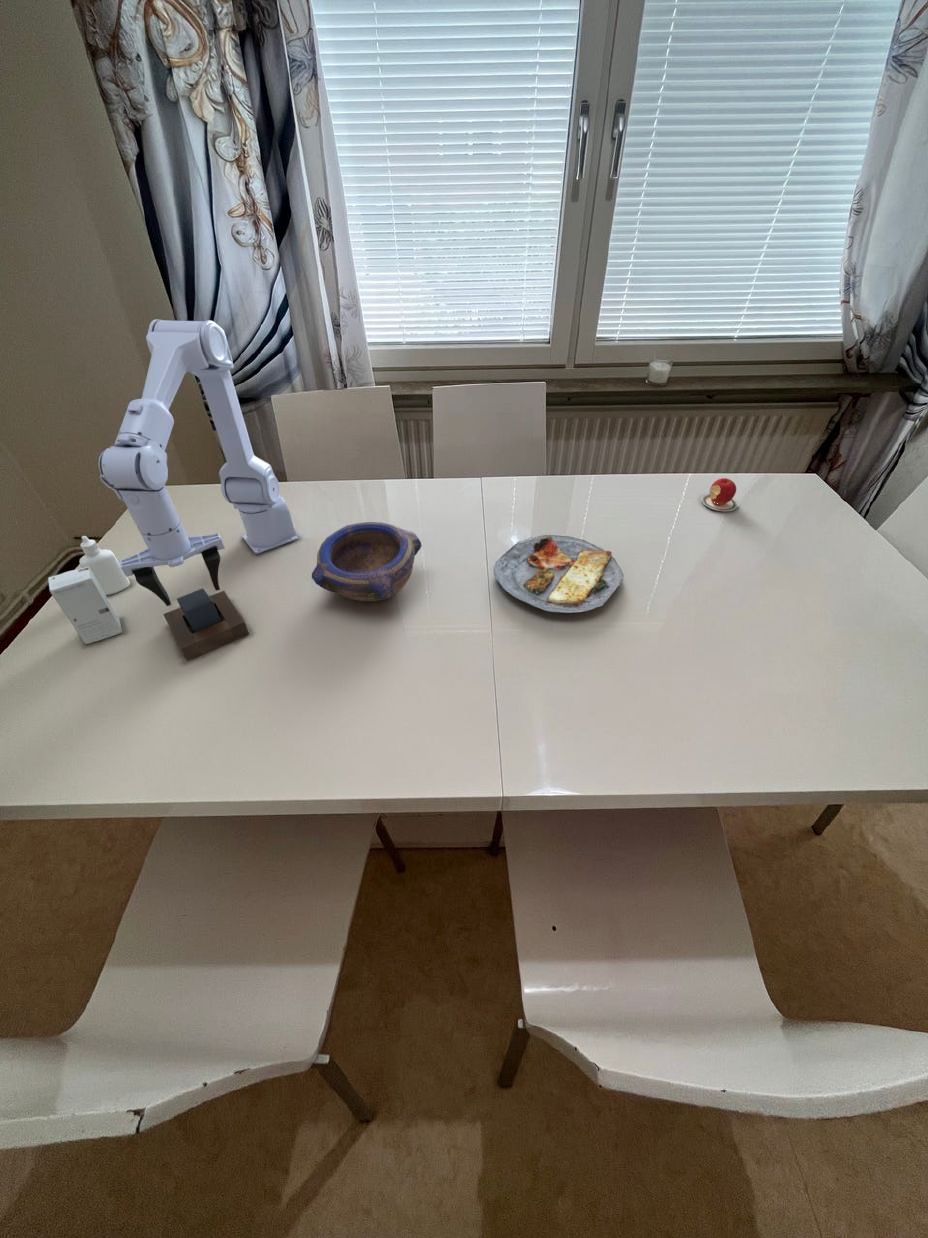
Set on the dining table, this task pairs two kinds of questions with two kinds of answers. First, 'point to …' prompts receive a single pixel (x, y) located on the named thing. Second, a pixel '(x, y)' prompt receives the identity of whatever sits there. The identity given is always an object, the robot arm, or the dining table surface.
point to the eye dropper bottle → (103, 567)
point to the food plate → (559, 573)
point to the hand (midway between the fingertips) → (192, 594)
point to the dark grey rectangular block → (199, 610)
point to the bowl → (366, 561)
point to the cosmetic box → (85, 604)
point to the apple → (721, 495)
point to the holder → (211, 635)
